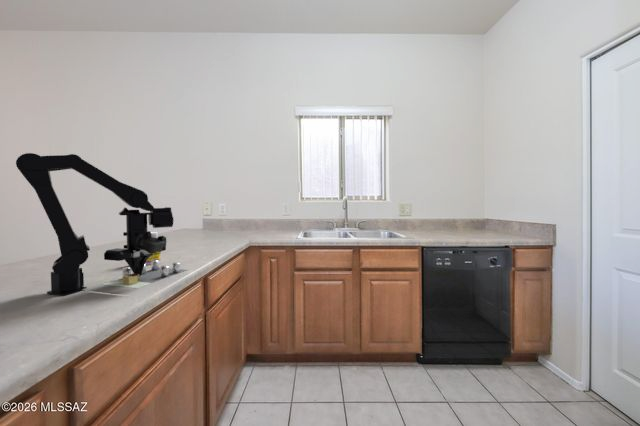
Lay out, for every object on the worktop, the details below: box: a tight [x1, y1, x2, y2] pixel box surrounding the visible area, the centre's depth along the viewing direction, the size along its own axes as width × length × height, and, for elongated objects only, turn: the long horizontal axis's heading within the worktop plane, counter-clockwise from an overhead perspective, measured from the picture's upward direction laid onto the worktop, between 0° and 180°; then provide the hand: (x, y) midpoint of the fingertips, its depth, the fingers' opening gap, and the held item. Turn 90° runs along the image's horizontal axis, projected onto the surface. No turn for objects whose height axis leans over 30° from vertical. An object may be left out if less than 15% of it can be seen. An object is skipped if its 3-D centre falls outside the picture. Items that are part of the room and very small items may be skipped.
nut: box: [122, 272, 139, 285], centre depth 93 cm, size 4×5×2 cm
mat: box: [101, 267, 188, 289], centre depth 100 cm, size 23×13×1 cm, turn 166°
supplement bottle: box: [145, 231, 162, 266], centre depth 121 cm, size 7×7×13 cm
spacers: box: [121, 260, 181, 278], centre depth 102 cm, size 14×12×4 cm
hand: (138, 276), depth 96 cm, fingers closed
